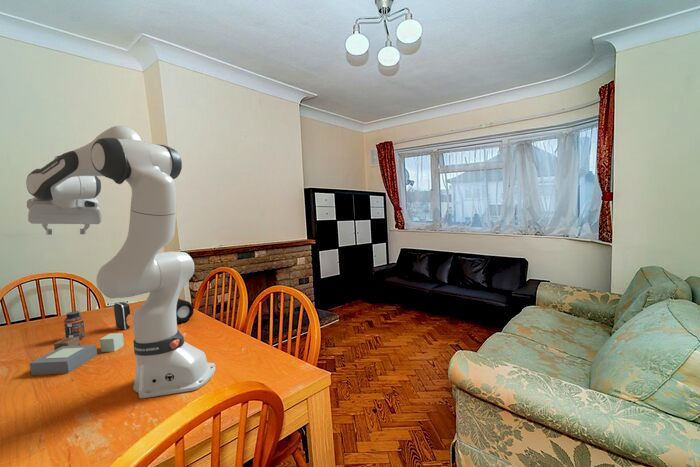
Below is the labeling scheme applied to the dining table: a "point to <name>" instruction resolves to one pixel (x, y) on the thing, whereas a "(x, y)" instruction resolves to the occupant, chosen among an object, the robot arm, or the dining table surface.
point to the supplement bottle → (74, 325)
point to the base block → (63, 359)
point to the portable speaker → (184, 310)
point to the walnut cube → (67, 342)
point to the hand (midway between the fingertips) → (66, 233)
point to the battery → (121, 315)
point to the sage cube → (111, 342)
